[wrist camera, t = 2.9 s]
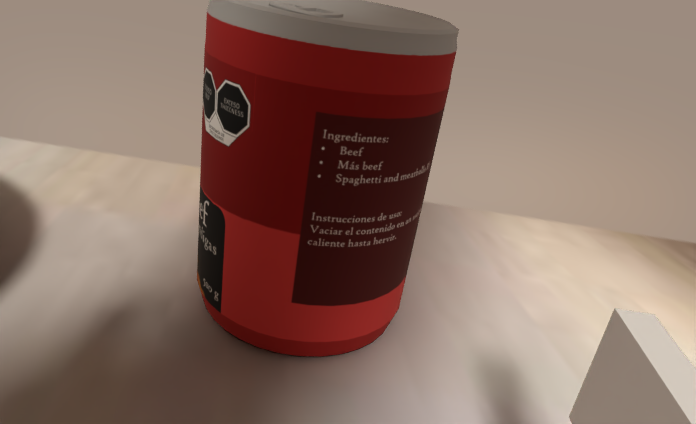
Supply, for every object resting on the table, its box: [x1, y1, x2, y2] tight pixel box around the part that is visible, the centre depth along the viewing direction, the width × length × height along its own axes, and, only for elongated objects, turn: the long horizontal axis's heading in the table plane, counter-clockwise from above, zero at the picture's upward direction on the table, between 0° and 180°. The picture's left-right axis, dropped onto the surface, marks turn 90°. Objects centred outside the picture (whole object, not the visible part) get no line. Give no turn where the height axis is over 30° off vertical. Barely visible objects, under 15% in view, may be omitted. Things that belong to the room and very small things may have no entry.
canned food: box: [197, 0, 459, 356], centre depth 20 cm, size 8×8×11 cm
